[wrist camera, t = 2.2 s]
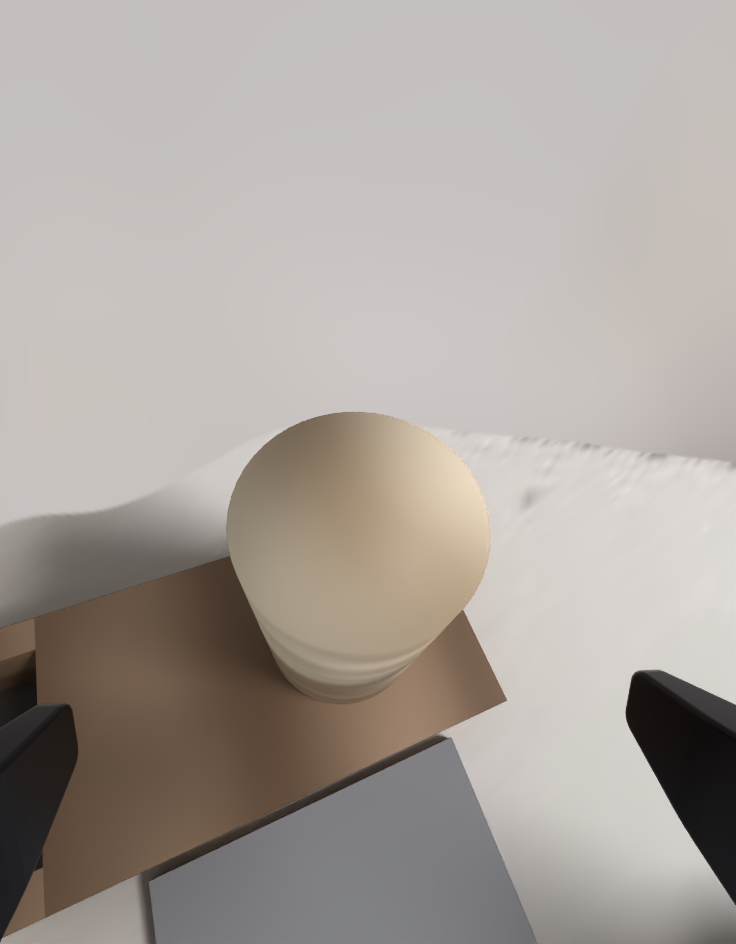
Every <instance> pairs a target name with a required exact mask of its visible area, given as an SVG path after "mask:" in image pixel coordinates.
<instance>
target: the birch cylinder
mask: <svg viewBox="0 0 736 944" xmlns="http://www.w3.org/2000/svg"><path fill="white" fill-rule="evenodd" d="M226 528H227V542H228V548H229V553H230V557H231V561H232V564H233V566H234V569H235V572H236V574H237V577H238V579H239V581H240V583H241V586H242V588H243V590H244V592H245V595H246V597H247V599H248V601H249V604H250V606H251V608H252V610H253V612H254V615H255V617H256V619H257V621H258V624H259V626H260V628H261V630H262V632H263V635H264V637H265V639H266V641H267V644H268V646H269V648H270V650H271V652H272V655H273V657H274V659H275V661H276V663H277V665H278V667H279V669H280V671H281V672H282V673H283V675H284V676H285V677H286V679H287V680H288V681H289V682H290V683H291V684H292V685H293V686H294V687H295V688H297V689H298V690H299V691H301V692H302V693H304V694H306V695H307V696H309V697H311V698H313V699H316V700H319V701H322V702H326V703H331V704H352V703H357V702H361V701H364V700H367V699H369V698H372V697H374V696H375V695H377V694H379V693H381V692H382V691H384V690H385V689H386V688H387V687H389V686H390V685H391V684H392V683H393V682H394V681H395V680H396V679H397V678H398V677H399V676H400V675H401V674H402V673H403V672H404V670H405V669H406V668H407V667H408V666H409V665H410V664H411V663H412V662H413V661H414V660H415V659H416V658H417V657H418V656H419V655H420V654H421V653H422V652H423V651H424V650H425V648H426V647H427V646H428V645H429V644H430V643H431V642H432V641H433V640H434V639H435V638H436V637H437V636H438V635H439V634H440V633H441V632H442V631H443V630H444V629H445V628H446V627H447V625H448V624H449V623H450V622H451V621H452V620H453V619H454V618H455V617H456V616H457V615H458V614H459V613H460V612H461V611H462V610H463V609H464V608H465V606H466V605H467V603H468V602H469V601H470V599H471V598H472V597H473V595H474V594H475V592H476V590H477V588H478V586H479V584H480V582H481V580H482V578H483V575H484V572H485V569H486V566H487V562H488V557H489V552H490V539H491V531H490V521H489V515H488V511H487V507H486V503H485V500H484V497H483V495H482V492H481V490H480V487H479V486H478V484H477V482H476V480H475V478H474V476H473V475H472V473H471V472H470V471H469V469H468V468H467V466H466V465H465V464H464V462H463V461H462V460H461V459H460V458H459V457H458V456H457V455H456V454H455V452H454V451H452V450H451V449H450V448H449V447H448V446H447V445H446V444H444V443H443V442H442V441H441V440H439V439H438V438H436V437H435V436H433V435H432V434H431V433H429V432H427V431H425V430H423V429H421V428H420V427H418V426H416V425H413V424H411V423H408V422H406V421H403V420H400V419H397V418H394V417H390V416H386V415H380V414H376V413H366V412H365V413H364V412H342V413H334V414H328V415H323V416H319V417H315V418H312V419H309V420H306V421H303V422H301V423H299V424H296V425H294V426H292V427H290V428H288V429H286V430H285V431H283V432H282V433H280V434H278V435H277V436H275V437H274V438H273V439H271V440H270V441H269V442H268V443H266V444H265V445H264V446H263V447H262V448H261V449H260V450H259V451H258V452H257V453H256V454H255V455H254V456H253V458H252V459H251V460H250V462H249V463H248V464H247V466H246V467H245V468H244V470H243V472H242V474H241V475H240V477H239V479H238V481H237V483H236V485H235V488H234V491H233V493H232V496H231V500H230V504H229V508H228V515H227V527H226Z"/></svg>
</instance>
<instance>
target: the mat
mask: <svg viewBox="0 0 736 944" xmlns="http://www.w3.org/2000/svg"><path fill="white" fill-rule="evenodd" d="M149 889H150V897H151V905H152V913H153V922H154V930H155V938H156V944H538V943H537V941H536V938H535V936H534V934H533V931H532V929H531V926H530V924H529V922H528V919H527V917H526V914H525V912H524V910H523V907H522V905H521V903H520V900H519V898H518V895H517V893H516V891H515V888H514V886H513V883H512V881H511V879H510V876H509V874H508V871H507V869H506V867H505V864H504V862H503V860H502V857H501V855H500V852H499V850H498V848H497V845H496V843H495V840H494V838H493V836H492V833H491V831H490V828H489V826H488V824H487V821H486V819H485V817H484V814H483V812H482V809H481V807H480V805H479V802H478V800H477V797H476V795H475V793H474V790H473V788H472V785H471V783H470V781H469V778H468V776H467V774H466V771H465V769H464V766H463V764H462V762H461V759H460V757H459V754H458V752H457V750H456V747H455V745H454V742H453V740H452V738H447V739H445V740H443V741H441V742H439V743H437V744H435V745H433V746H430V747H428V748H426V749H424V750H422V751H420V752H418V753H416V754H414V755H412V756H409V757H407V758H405V759H403V760H401V761H399V762H397V763H395V764H393V765H391V766H388V767H386V768H384V769H382V770H380V771H378V772H376V773H374V774H372V775H370V776H367V777H365V778H363V779H361V780H359V781H357V782H355V783H353V784H351V785H349V786H346V787H344V788H342V789H340V790H338V791H336V792H334V793H332V794H330V795H328V796H326V797H323V798H321V799H319V800H317V801H315V802H313V803H311V804H309V805H307V806H305V807H302V808H300V809H298V810H296V811H294V812H292V813H290V814H288V815H286V816H284V817H281V818H279V819H277V820H275V821H273V822H271V823H269V824H267V825H265V826H263V827H260V828H258V829H256V830H254V831H252V832H250V833H248V834H246V835H244V836H242V837H239V838H237V839H235V840H233V841H231V842H229V843H227V844H225V845H223V846H221V847H219V848H216V849H214V850H212V851H210V852H208V853H206V854H204V855H202V856H200V857H198V858H195V859H193V860H191V861H189V862H187V863H185V864H183V865H181V866H179V867H177V868H174V869H172V870H170V871H168V872H166V873H164V874H162V875H160V876H158V877H156V878H153V879H152V880H150V881H149Z"/></svg>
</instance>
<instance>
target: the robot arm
mask: <svg viewBox="0 0 736 944" xmlns="http://www.w3.org/2000/svg"><path fill="white" fill-rule="evenodd" d="M626 720H627V723H628V726H629V728H630V730H631V732H632V734H633V736H634V738H635V739H636V741H637V743H638V745H639V747H640V748H641V750H642V752H643V754H644V756H645V757H646V759H647V761H648V763H649V765H650V767H651V768H652V770H653V772H654V774H655V776H656V777H657V779H658V781H659V783H660V785H661V786H662V788H663V790H664V792H665V794H666V796H667V797H668V799H669V801H670V803H671V805H672V806H673V808H674V810H675V812H676V813H677V815H678V817H679V819H680V820H681V822H682V824H683V825H684V827H685V829H686V830H687V832H688V833H689V835H690V836H691V838H692V840H693V841H694V843H695V844H696V846H697V847H698V849H699V850H700V852H701V853H702V855H703V856H704V858H705V860H706V861H707V863H708V864H709V866H710V867H711V869H712V870H713V872H714V873H715V875H716V876H717V878H718V879H719V881H720V882H721V884H722V885H723V887H724V888H725V890H726V891H727V893H728V894H729V896H730V898H731V899H732V901H733V902H734V904H735V905H736V705H735V704H733V703H731V702H728V701H726V700H724V699H722V698H720V697H718V696H715V695H713V694H711V693H709V692H707V691H705V690H703V689H700V688H698V687H696V686H694V685H692V684H690V683H688V682H685V681H683V680H681V679H679V678H677V677H675V676H672V675H670V674H668V673H666V672H664V671H661V670H641V671H637V672H635V673H634V674H633V676H632V678H631V683H630V689H629V695H628V700H627V706H626ZM77 759H78V741H77V735H76V728H75V722H74V715H73V710H72V708H71V706H70V705H69V704H67V703H48V704H40V705H37V706H35V707H33V708H32V709H30V710H28V711H27V712H25V713H24V714H22V715H20V716H19V717H17V718H16V719H14V720H12V721H11V722H9V723H8V724H6V725H5V726H3V727H1V728H0V941H1V939H2V937H3V935H4V933H5V931H6V929H7V927H8V925H9V923H10V921H11V919H12V917H13V915H14V913H15V911H16V909H17V907H18V905H19V903H20V901H21V899H22V897H23V895H24V892H25V890H26V888H27V886H28V884H29V881H30V879H31V877H32V874H33V872H34V869H35V867H36V865H37V862H38V860H39V857H40V855H41V852H42V850H43V847H44V844H45V842H46V839H47V837H48V834H49V832H50V829H51V827H52V824H53V822H54V819H55V817H56V814H57V812H58V809H59V807H60V804H61V802H62V799H63V797H64V794H65V791H66V789H67V786H68V784H69V781H70V779H71V776H72V774H73V771H74V769H75V766H76V763H77Z"/></svg>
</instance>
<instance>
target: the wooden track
mask: <svg viewBox="0 0 736 944" xmlns="http://www.w3.org/2000/svg"><path fill="white" fill-rule="evenodd" d="M505 701H507V699H506V697H505V695H504V693H503V691H502V689H501V687H500V685H499V683H498V681H497V679H496V677H495V674H494V672H493V670H492V668H491V666H490V664H489V662H488V660H487V658H486V656H485V654H484V652H483V650H482V648H481V646H480V644H479V642H478V640H477V638H476V635H475V633H474V631H473V629H472V627H471V625H470V623H469V621H468V619H467V617H466V615H465V613H464V611H463V610H462V611H461V612H460V613H459V614H458V615H457V616H456V617H455V618H454V619H453V620H452V621H451V622H450V623H449V624H448V625H447V627H446V628H445V629H444V630H443V631H442V632H441V633H440V634H439V635H438V636H437V637H436V638H435V639H434V640H433V641H432V642H431V643H430V644H429V645H428V646H427V647H426V648H425V650H424V651H423V652H422V653H421V654H420V655H419V656H418V657H417V658H416V659H415V660H414V661H413V662H412V663H411V664H410V665H409V666H408V667H407V668H406V669H405V670H404V672H403V673H402V674H401V675H400V676H399V677H398V678H397V679H396V680H395V681H394V682H393V683H392V684H391V685H390V686H389V687H387V688H386V689H385V690H384V691H382V692H381V693H379V694H377V695H375V696H374V697H372V698H369V699H367V700H364V701H361V702H357V703H352V704H331V703H326V702H322V701H319V700H316V699H313V698H311V697H309V696H307V695H306V694H304V693H302V692H301V691H299V690H298V689H297V688H295V687H294V686H293V685H292V684H291V683H290V682H289V681H288V680H287V679H286V677H285V676H284V675H283V673H282V672H281V671H280V669H279V667H278V665H277V663H276V661H275V659H274V657H273V655H272V652H271V650H270V648H269V646H268V644H267V641H266V639H265V637H264V635H263V632H262V630H261V628H260V626H259V624H258V621H257V619H256V617H255V615H254V612H253V610H252V608H251V606H250V604H249V601H248V599H247V597H246V595H245V592H244V590H243V588H242V586H241V583H240V581H239V579H238V577H237V574H236V572H235V569H234V566H233V564H232V561H231V557H230V556H229V557H226V558H223V559H220V560H216V561H213V562H210V563H207V564H204V565H201V566H197V567H194V568H191V569H188V570H185V571H181V572H178V573H175V574H172V575H169V576H166V577H162V578H159V579H156V580H153V581H150V582H147V583H143V584H140V585H137V586H134V587H131V588H128V589H124V590H121V591H118V592H115V593H112V594H108V595H105V596H102V597H99V598H96V599H93V600H89V601H86V602H83V603H80V604H77V605H74V606H70V607H67V608H64V609H61V610H58V611H54V612H51V613H48V614H45V615H42V616H39V617H35V618H32V619H29V620H26V621H23V622H20V623H16V624H13V625H10V626H7V627H4V628H0V728H1V727H3V726H5V725H6V724H8V723H9V722H11V721H12V720H14V719H16V718H17V717H19V716H20V715H22V714H24V713H25V712H27V711H28V710H30V709H32V708H33V707H35V706H37V705H40V704H48V703H67V704H69V705H70V706H71V708H72V710H73V715H74V722H75V728H76V735H77V741H78V759H77V763H76V766H75V769H74V771H73V774H72V776H71V779H70V781H69V784H68V786H67V789H66V791H65V794H64V797H63V799H62V802H61V804H60V807H59V809H58V812H57V814H56V817H55V819H54V822H53V824H52V827H51V829H50V832H49V834H48V837H47V839H46V842H45V844H44V847H43V850H42V852H41V855H40V857H39V860H38V862H37V865H36V867H35V869H34V872H33V874H32V877H31V879H30V881H29V884H28V886H27V888H26V890H25V892H24V895H23V897H22V899H21V901H20V903H19V905H18V907H17V909H16V911H15V913H14V915H13V917H12V919H11V921H10V923H9V925H8V927H7V929H6V931H5V933H4V935H3V937H5V936H8V935H10V934H12V933H14V932H16V931H18V930H20V929H22V928H25V927H27V926H29V925H31V924H33V923H35V922H37V921H39V920H42V919H44V918H46V917H48V916H50V915H52V914H54V913H56V912H59V911H61V910H63V909H65V908H67V907H69V906H71V905H73V904H76V903H78V902H80V901H82V900H84V899H86V898H88V897H90V896H93V895H95V894H97V893H99V892H101V891H103V890H105V889H107V888H110V887H112V886H114V885H116V884H118V883H120V882H122V881H124V880H127V879H129V878H131V877H133V876H135V875H137V874H139V873H142V872H144V871H146V870H148V869H150V868H152V867H154V866H156V865H159V864H161V863H163V862H165V861H167V860H169V859H171V858H173V857H176V856H178V855H180V854H182V853H184V852H186V851H188V850H190V849H193V848H195V847H197V846H199V845H201V844H203V843H205V842H207V841H210V840H212V839H214V838H216V837H218V836H220V835H222V834H224V833H227V832H229V831H231V830H233V829H235V828H237V827H239V826H241V825H244V824H246V823H248V822H250V821H252V820H254V819H256V818H258V817H261V816H263V815H265V814H267V813H269V812H271V811H273V810H275V809H278V808H280V807H282V806H284V805H286V804H288V803H290V802H292V801H295V800H297V799H299V798H301V797H303V796H305V795H307V794H309V793H312V792H314V791H316V790H318V789H320V788H322V787H324V786H326V785H329V784H331V783H333V782H335V781H337V780H339V779H341V778H343V777H346V776H348V775H350V774H352V773H354V772H356V771H358V770H361V769H363V768H365V767H367V766H369V765H371V764H373V763H375V762H378V761H380V760H382V759H384V758H386V757H388V756H390V755H392V754H395V753H397V752H399V751H401V750H403V749H405V748H407V747H409V746H412V745H414V744H416V743H418V742H420V741H422V740H424V739H426V738H429V737H431V736H433V735H435V734H437V733H439V732H441V731H443V730H446V729H448V728H450V727H452V726H454V725H456V724H458V723H460V722H463V721H465V720H467V719H469V718H471V717H473V716H475V715H477V714H480V713H482V712H484V711H486V710H488V709H490V708H492V707H494V706H497V705H499V704H501V703H503V702H505ZM3 937H2V938H3Z"/></svg>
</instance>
